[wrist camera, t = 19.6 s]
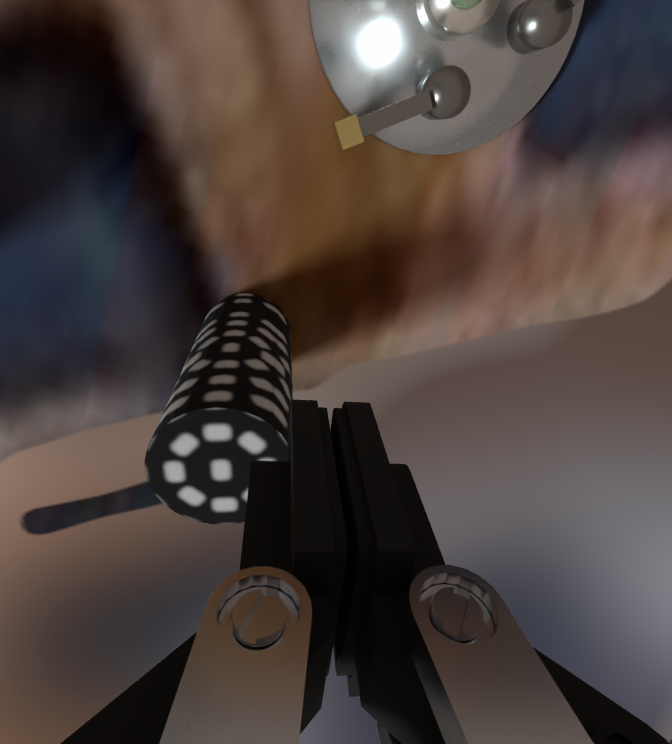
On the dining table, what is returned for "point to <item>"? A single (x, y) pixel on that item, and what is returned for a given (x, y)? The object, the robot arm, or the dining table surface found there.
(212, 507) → the spotted tube
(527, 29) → the metal scoop
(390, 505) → the robot arm
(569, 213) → the dining table surface
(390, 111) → the metal scoop
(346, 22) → the tribrach plate
